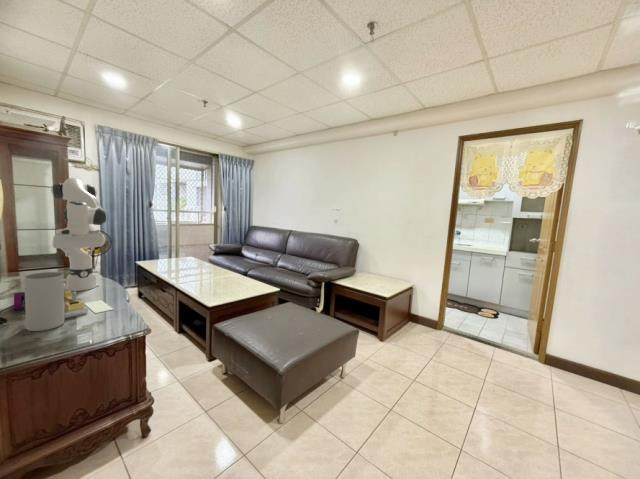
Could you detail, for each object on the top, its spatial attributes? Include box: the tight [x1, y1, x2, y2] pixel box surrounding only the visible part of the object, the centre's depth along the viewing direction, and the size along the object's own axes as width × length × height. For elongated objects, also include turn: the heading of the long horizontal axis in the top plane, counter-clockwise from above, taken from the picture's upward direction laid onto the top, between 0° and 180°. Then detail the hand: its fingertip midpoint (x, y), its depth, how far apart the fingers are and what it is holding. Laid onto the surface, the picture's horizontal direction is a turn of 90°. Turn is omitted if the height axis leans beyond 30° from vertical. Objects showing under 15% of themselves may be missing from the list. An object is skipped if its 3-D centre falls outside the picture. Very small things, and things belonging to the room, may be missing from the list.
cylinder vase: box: [23, 271, 65, 332], centre depth 121 cm, size 12×12×25 cm
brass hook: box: [64, 291, 84, 311], centre depth 139 cm, size 16×6×6 cm, turn 56°
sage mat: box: [83, 299, 114, 315], centre depth 148 cm, size 20×8×1 cm, turn 56°
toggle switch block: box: [64, 291, 89, 319], centre depth 139 cm, size 18×9×12 cm, turn 56°
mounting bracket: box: [13, 291, 25, 311], centre depth 143 cm, size 9×8×18 cm
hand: (79, 255), depth 142 cm, fingers open, 8 cm apart
